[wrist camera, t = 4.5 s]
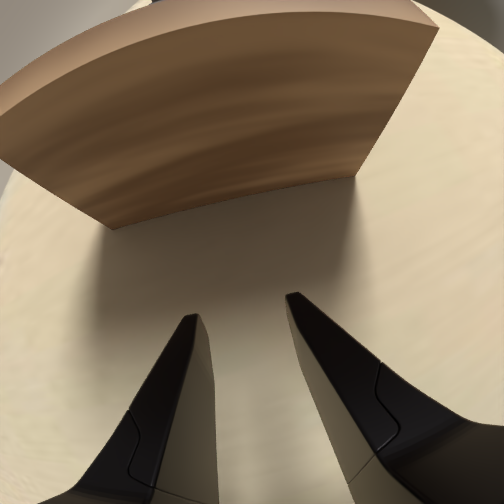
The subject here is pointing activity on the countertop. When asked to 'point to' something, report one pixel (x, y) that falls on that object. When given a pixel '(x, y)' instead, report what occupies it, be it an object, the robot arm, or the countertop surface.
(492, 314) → the countertop surface
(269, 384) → the countertop surface
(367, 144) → the board
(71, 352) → the countertop surface
